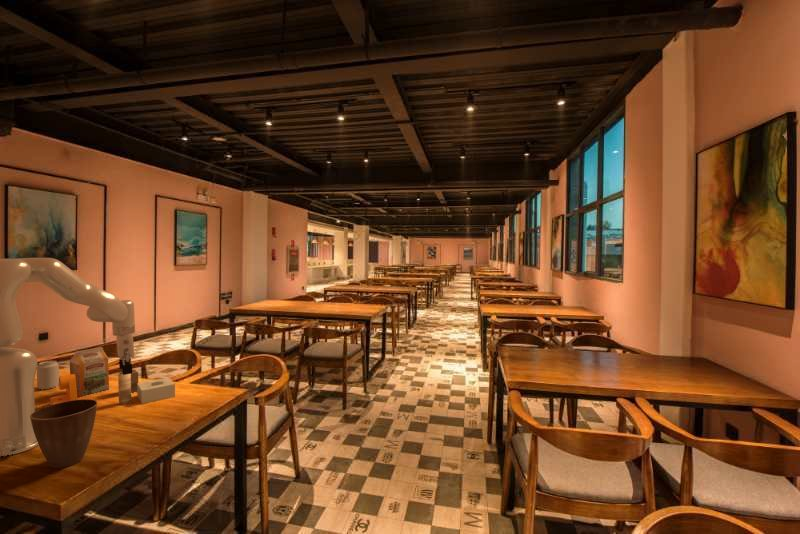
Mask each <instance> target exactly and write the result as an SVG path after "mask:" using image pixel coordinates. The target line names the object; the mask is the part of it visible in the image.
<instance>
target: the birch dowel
mask: <svg viewBox="0 0 800 534" xmlns="http://www.w3.org/2000/svg"><path fill="white" fill-rule="evenodd" d="M117 379H118V381H117V382H118V385H117V386H118V404H119V405H121V406H122V405H128V403H129V404H131V403H132V394H131V374H126V375H123V374H122V373H121V374H119V373H118V377H117ZM130 402H131V403H130Z"/></svg>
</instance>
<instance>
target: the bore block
mask: <svg viewBox="0 0 800 534" xmlns="http://www.w3.org/2000/svg"><path fill="white" fill-rule="evenodd" d="M136 394H137V398H138V399H139V401H140V403H141V404H142V405H144V404H148V403H152V402H157V401H161V400H166V399H171V398H175V397H176V385H175V382H173V380H172V379H171V378H170V377H164V378H159V379H154V380H153V379H151V380H148V381H141V382H138V383H137V392H136Z"/></svg>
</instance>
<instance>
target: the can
mask: <svg viewBox="0 0 800 534" xmlns="http://www.w3.org/2000/svg"><path fill="white" fill-rule="evenodd" d="M59 368H60V364H59V363H58V362H57V360H46V361H41V362H39V363H38V364H37V369H36V383H37V384H36V388H37V389H39V390H40V389H41V391H45V390H44V389H47V390H51V389H50V388H52V389H55V388H57V387H59V377H60V369H59ZM56 386H57V387H56ZM54 387H55V388H54Z"/></svg>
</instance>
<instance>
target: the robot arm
mask: <svg viewBox="0 0 800 534" xmlns="http://www.w3.org/2000/svg"><path fill="white" fill-rule="evenodd" d="M25 283H41V284H43V285H45V286H46V287H47V288H49V289H50V290H51V291H53V292H54V293H56V294H57V295H59V296H60V297H61V298H63V299H64V300H66V301H69V302H71V303H74V304H78V305H83V306H87V307H88V308H87V310H86V317H87V318H88V319H89V320H91V321H93V322H97V323H98V322H99V323H111V326H112V336H113V337H116V338H115V339H116V350H117V355H118V358H119V359H118V363H119V364H118V365H119V369H120V370H122V371H121V372H122V374H123V375H126V374H131V373H132V370H133V364H132V358H135V345H134V336H133V334H134V335H135V333H136V323H135V320H136V319H135V304H134V302H133V301H132V300H130V299H128V300H127V299H125V300H123V299H122V300H121V299H119V298H117V297H116V296H115V295H114V294H112V293H111V292H108V291H106V290H105V289H102V288H100V287H98V286H96V285H94V284H92V283H89V282H88V281H86V280H85V279H84V278H82V276H80V275H78V274H77V273H75V271H74V270H72V269H71V268H69V267H68V266H67V265H66V264H64V263H63V262H62V261H60V260H59V259H56V258H53V257H22V258H19V257H18V258H0V458H2V457H1V456H3V457H8V456H7V455H9V456H13V455H16V454H20V453H24V452H26V451H29V450H31V449H34V448H36V447H38V446H39V444H38V442H37V440H36V437H35V434H34V431H33V427H32V423H31V419H30V415H31V414H32V413H33V412H35V411H36V403H35V399H36V398H35V381H36V380H35V379H36V375H37V366H38V358H37V356H36V355H35V353H33V352H32V351H30V350H28V349H25V348H18V347H10V346H13V345H16V344H17V343H19V342H20V341H21V340H22V338H23V336H24V327H23V325H22V324H23V323H22V321H21V318H20V314H19V312H18V307H17V303H16V296H17V293H18V292H19V290H20V288H21V287H22V286H23V285H24V284H25ZM12 454H13V455H12Z"/></svg>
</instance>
